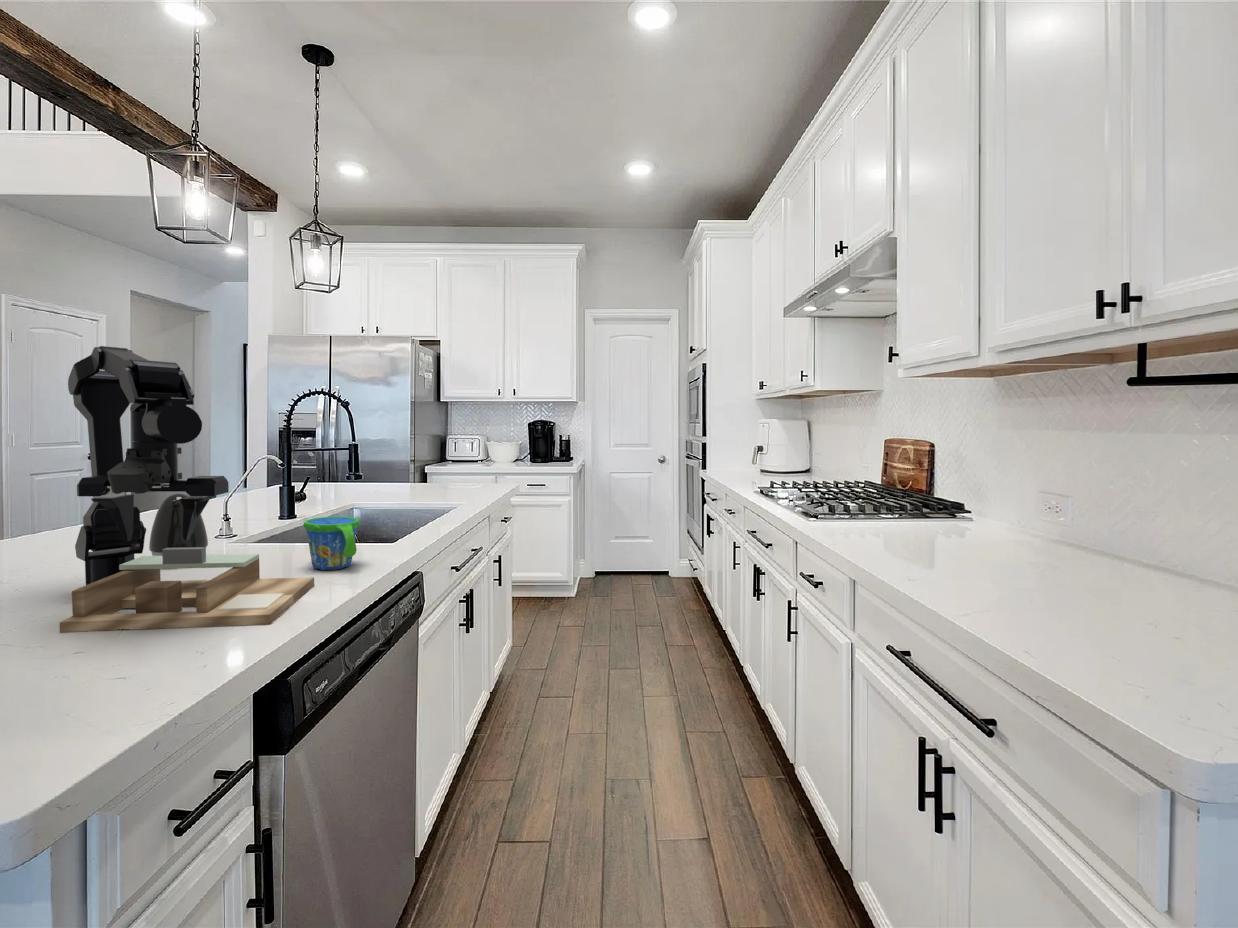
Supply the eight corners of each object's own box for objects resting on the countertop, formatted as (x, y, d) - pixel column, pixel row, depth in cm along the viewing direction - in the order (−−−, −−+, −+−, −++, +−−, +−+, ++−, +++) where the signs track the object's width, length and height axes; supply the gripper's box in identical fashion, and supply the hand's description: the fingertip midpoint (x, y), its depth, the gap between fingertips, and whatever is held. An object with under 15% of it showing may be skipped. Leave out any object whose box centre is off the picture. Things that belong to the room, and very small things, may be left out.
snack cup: (372, 569, 130) (372, 522, 129) (320, 578, 122) (319, 527, 122) (342, 557, 141) (342, 513, 140) (293, 564, 133) (292, 517, 133)
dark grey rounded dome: (144, 571, 124) (142, 497, 123) (155, 561, 134) (153, 491, 133) (204, 567, 129) (203, 495, 128) (211, 557, 138) (209, 490, 137)
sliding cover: (119, 569, 103) (118, 550, 103) (142, 560, 110) (142, 542, 110) (243, 567, 107) (243, 548, 106) (259, 558, 113) (258, 540, 113)
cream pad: (217, 610, 96) (217, 608, 96) (238, 596, 104) (238, 594, 103) (266, 609, 97) (266, 607, 97) (283, 595, 105) (283, 593, 105)
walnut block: (135, 620, 95) (134, 588, 95) (151, 611, 100) (150, 581, 99) (167, 619, 96) (166, 587, 96) (182, 610, 100) (181, 580, 100)
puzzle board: (59, 632, 89) (58, 594, 89) (148, 589, 112) (147, 559, 111) (270, 624, 94) (269, 588, 94) (314, 585, 117) (313, 556, 117)
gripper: (48, 442, 86) (52, 551, 87) (196, 444, 90) (198, 549, 91) (99, 440, 97) (102, 537, 98) (229, 441, 101) (230, 535, 102)
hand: (157, 540), depth 97 cm, fingers open, 8 cm apart
